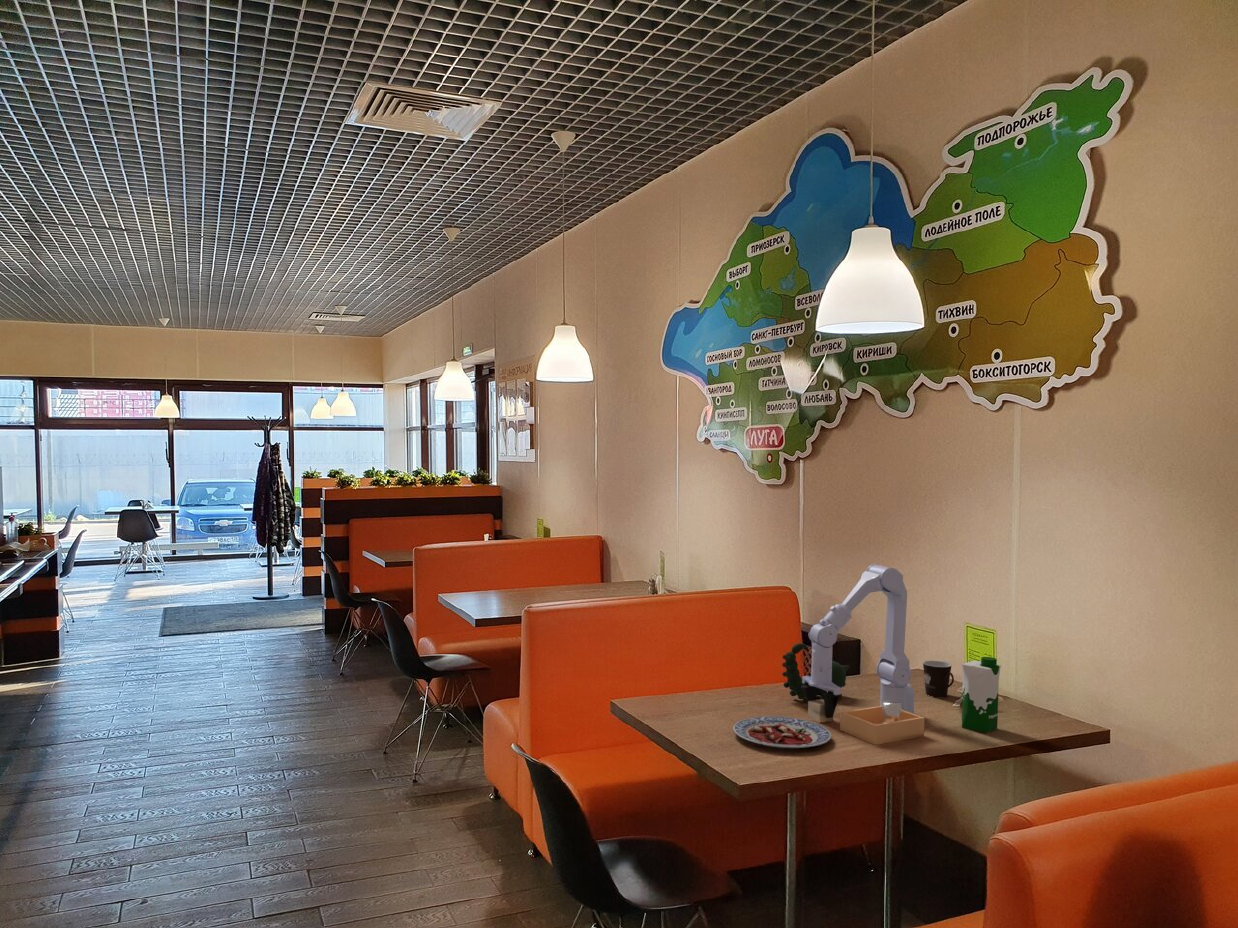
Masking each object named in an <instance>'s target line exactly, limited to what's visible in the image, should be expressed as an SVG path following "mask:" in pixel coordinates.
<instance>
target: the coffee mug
mask: <svg viewBox="0 0 1238 928" xmlns="http://www.w3.org/2000/svg"><path fill="white" fill-rule="evenodd" d="M922 665H923V666H922V667H923V677H924V688H925V695H926V694H927V695H926V696H928V695H929V696H928V697H930V696H933V697H932V698H936V697H945V698H947V697H948V691H949V688H951V686H952V685H953V684H954V682H955V679H954V678H955V677H954V675H953V673H952V664H951V663H949V662H946V661H940V660H924V661H922ZM950 677H951V678H950ZM950 679H951V682H950ZM946 696H947V697H946Z"/></svg>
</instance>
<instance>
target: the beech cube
mask: <svg viewBox="0 0 1238 928" xmlns="http://www.w3.org/2000/svg"><path fill="white" fill-rule="evenodd" d="M807 719H809V720H811V721H814V722H816V721H817V723H818V722H819V724H821V723H820V722H822V723H827V722H826V721H828V722H832V721H831V720H833V721H834V716H833V717H832V718H826V715H825V703H824V699H823V698H819V699H817V700H813V701H808V707H807Z"/></svg>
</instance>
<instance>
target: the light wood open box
mask: <svg viewBox="0 0 1238 928" xmlns="http://www.w3.org/2000/svg"><path fill="white" fill-rule="evenodd" d="M839 713H840V714H839V715H840V717H839V720H840V721H839V723H840V724H839V731H841V732H843V731H844V732H843V733H846V734H849V735H851V736H853V737H856V738H858V737H859V738H858V739H860V738H861V739H860V740H863V741H865V742H868V743H870V744H873V745H875V746H876V745H881V744H888V743H893V742H899V741H905V740H909V739H916V738H920V737H921V738H923V737H925V717H923V716H921V715H918V714H916V715H915V714H912V713H910V712H907V711H904V710H901V721H895V722H889V723H883V724H882V706H880V705H878V706H871V707H865V708H859V709H858V708H857V709H852V710H845V711H844V710H843V711H840V712H839Z"/></svg>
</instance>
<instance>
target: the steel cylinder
mask: <svg viewBox="0 0 1238 928" xmlns="http://www.w3.org/2000/svg"><path fill="white" fill-rule="evenodd" d="M895 721H901V703H900V702H898V701H892V700H887V701H883V703H882V724H883V723H889V722H895Z"/></svg>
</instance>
